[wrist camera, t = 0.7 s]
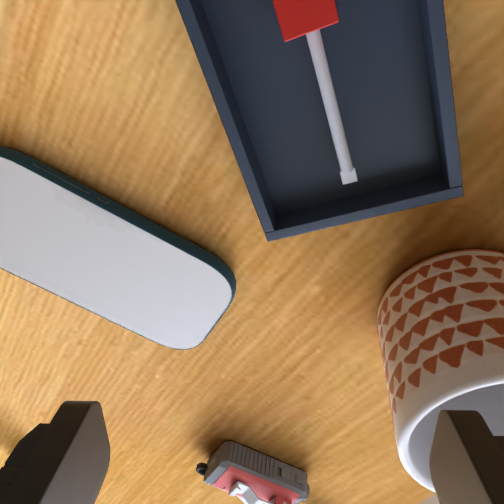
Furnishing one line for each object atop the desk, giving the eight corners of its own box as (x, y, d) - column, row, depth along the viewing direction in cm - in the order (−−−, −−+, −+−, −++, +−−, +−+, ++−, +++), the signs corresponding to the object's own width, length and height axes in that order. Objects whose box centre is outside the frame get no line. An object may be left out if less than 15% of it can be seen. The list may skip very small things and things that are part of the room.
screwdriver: (230, -177, 21) (214, -205, 18) (287, -209, 21) (281, -243, 17) (327, 176, 31) (329, 200, 28) (369, 165, 30) (376, 189, 27)
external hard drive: (-35, 233, 39) (-50, 245, 37) (-15, 126, 33) (-33, 134, 31) (195, 345, 43) (190, 360, 41) (250, 268, 37) (247, 282, 35)
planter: (354, 348, 40) (367, 481, 30) (413, 227, 33) (459, 349, 22) (494, 382, 40) (556, 527, 30) (586, 269, 33) (713, 411, 22)
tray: (115, -199, 22) (90, -220, 19) (387, -366, 18) (398, -418, 15) (271, 223, 34) (267, 242, 32) (452, 178, 30) (464, 196, 28)
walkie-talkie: (191, 465, 55) (323, 518, 58) (182, 500, 52) (323, 555, 55) (219, 432, 51) (361, 492, 54) (211, 468, 47) (364, 530, 50)
